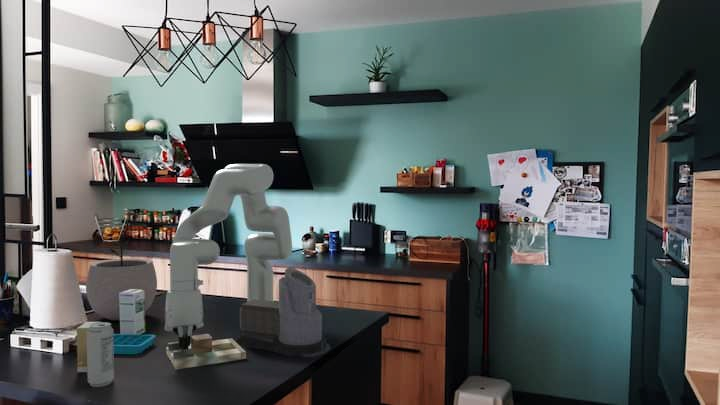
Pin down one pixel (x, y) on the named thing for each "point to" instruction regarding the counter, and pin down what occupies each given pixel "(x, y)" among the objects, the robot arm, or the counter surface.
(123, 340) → the ice cube tray
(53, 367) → the counter surface
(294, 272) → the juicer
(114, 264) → the plant pot
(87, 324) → the skincare box
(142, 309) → the syrup box
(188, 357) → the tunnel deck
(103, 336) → the energy drink can
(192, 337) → the walnut block
